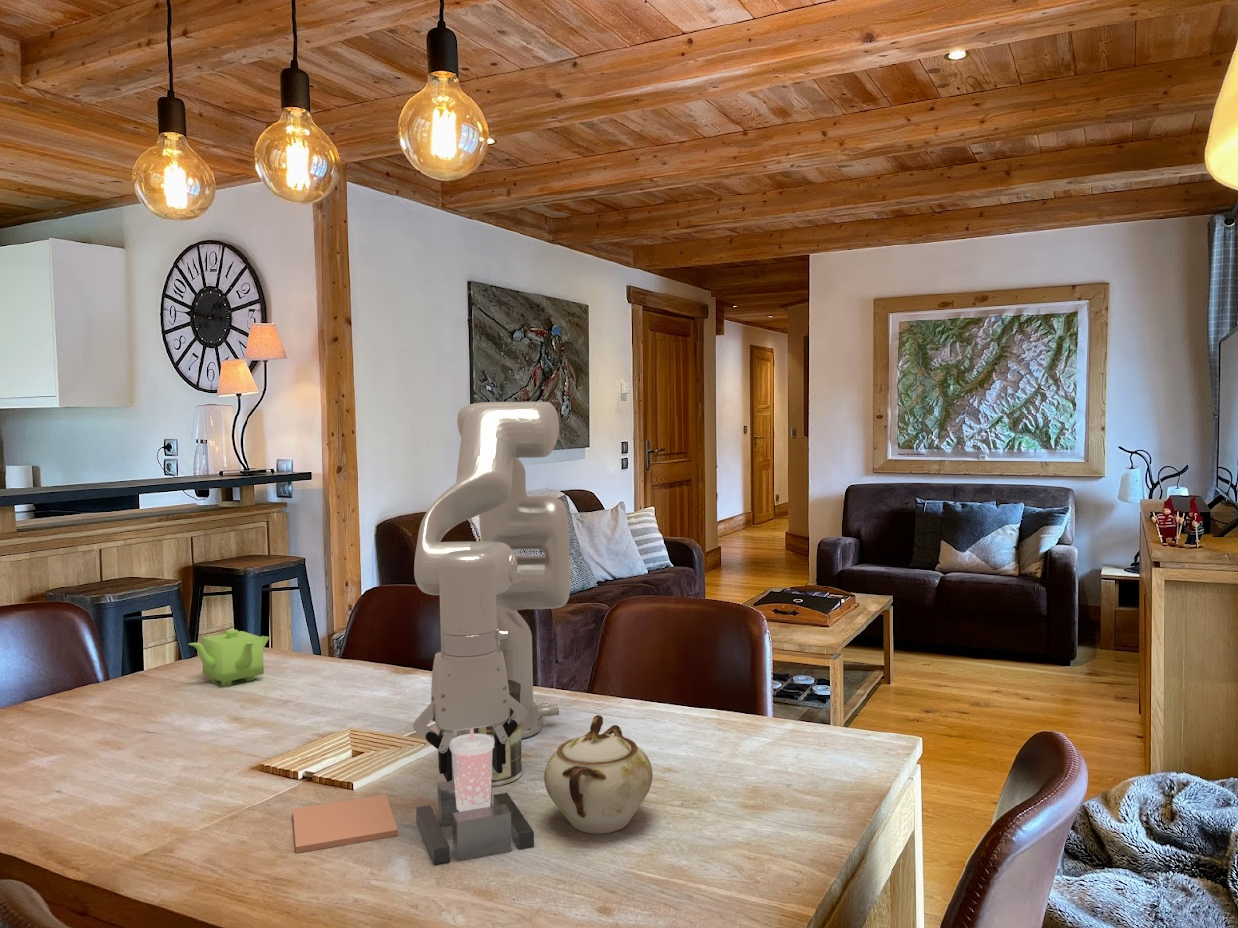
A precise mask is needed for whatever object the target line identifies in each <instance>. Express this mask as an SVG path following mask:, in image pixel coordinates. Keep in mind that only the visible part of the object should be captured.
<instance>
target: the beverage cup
mask: <svg viewBox="0 0 1238 928" xmlns="http://www.w3.org/2000/svg"><path fill="white" fill-rule="evenodd" d="M494 743H495V741H494V738H493V737H492V736H490V735H486V734H477V733H475V734H474V733H473V729H470V734H465V735H461V736H458V737H457V736H455V737H452V739H451V742H450V744H449V749H450V751H451V752H452V774H453V780H454V784H455V796H456V807H457V810H458V811H459V812H461V811H467V810H473V809H479V808H485V807H490V804H491V802H492V786H491V778H492V752H493V748H494Z"/></svg>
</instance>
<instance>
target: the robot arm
mask: <svg viewBox="0 0 1238 928" xmlns="http://www.w3.org/2000/svg"><path fill="white" fill-rule="evenodd" d="M456 419H457V420H456V423H457V429H458V433H459V435H460V445H459V453H458V462H457V469H456V470H457V471H456V480H455V483H454V484H453V485H451V486H450V487H449V488H447V489H446V490H445V491H444V492H443V493H441V495H439V496H438V498H437V499H436V500H435V501H434V502H433V503H432V505H430V506H429V508H428V510H427V511H426V513H425V514H424V516H423V518H422V520H421V522H420V525H419V529H418V534H417V541H416V542H417V543H416V547H415V548H416V549H415V554H414V563H413V564H414V565H413V567H414V568H413V576H414V580H415V583H416V586H417V588H418V589H419V590H420V591H421V592H422V593H425V594H426V595H431V596H439V616H440V617H439V618H440V651H439V652H436V653H435V655H434V659H433V665H432V672H431V673H432V674H431V687H430V688H431V691H430V692H431V693H430V694H431V695H430V704H428V705H427V707H426V708H425V709H424V711H423V712H422V713H420V715H419V716H418V717H417V718H416V719H415V721H414V722H413V723H412V728H413V730H414V732H416V733H417V734H418V735H419V736H421V737H422V738H424V739H425V741H427V742H428V743H429V744H430V745H431V746H433V747H434V748H435V749H437V751H438V752H437V753H438V754H437V756H438V772H439V774H440V775H442V776H443V777H444V779H445V782H446V781H447V782H450V781H453V780H454V776H453V761H452V752H451V751H450V747H449V744H450V742H451V740H452V739H453V737H454V733H455V732H457V731H459V730H467V729H474V728H481V727H487V726H491V727H492V729H493V731H494V733H495V735H494V741H495V743H494V748H493V752H492V766H493V768H494V769H495V771H496V772H497V773H498V774H499V773H502V764H506V748H505V743H507V742H508V738H509V737H510V736H511V735H512V733H513V732H514V731H515V730H516V729H517V727H518V725H519V723H521V740H522V739H525V738H526V739H527V738H530V737H532V736H534V734H535V735H537V734H538V733H539V732H541V730H542V729H543V722H542V719H543V718H544V717H552V716H553V717H554V716H560V715H559V714H560V707H559V704H552V705H550V704H549V703H547V702H544V703H539V704H537V703H536V702H535V701H534V680H533V678H534V674H533V636H532V631H531V628H530V626H529V625H528V623H527V622H526V620H525V619H524V618H523V617H522V615H521V614H520V613H519V612H518V611H523V610H546V609H547V610H548V609H558V608H563V607H564V606H566V604H567V603H568V601H569V599H570V593H571V565H570V564H571V562H570V560H571V559H570V553H571V552H570V531H569V530H570V529H569V528H570V527H569V518H568V517H569V516H568V511H567V507H566V505H565V504H564V502H563V501H562V500H561V499H560V498H558V497H555V496H550V495H549V496H548V495H543V496H542V495H541V496H536V495H535V496H529V495H528V494H527V491H526V490H527V485H526V484H527V483H526V482H527V481H526V478H527V475H526V469H525V465H524V464H523V462H522V461H521V459H524V458H525V459H526V458H528V459H529V458H530V459H533V458H537V459H538V458H547V457H548V456H550V455H551V453H552V452H553V450H554V448H555V446H556V445H557V441H558V438H559V431H560V424H559V423H560V422H559V416H558V412H557V410H556V408H555V406H554V405H553V404H552V403H551V402H548V401H489V402H488V401H487V402H486V401H485V402H474V403H471V404H466V405H464V406H463V407H461V408H460V410H459V411H458V413H457V418H456ZM520 458H521V459H520ZM475 517H478V521H479V533H480V537H481V538H480V539H481V541H442V539H443V538H444V537H445V535H446V534H448V532H449V531H450V530H452V529H453V528H455V527H456V526H458V525H459V524H461V523H464V522H466V521H468V520H470V519H473V518H475ZM515 550H540V551H542V552H543V554H544V555H535V556H533V555H532V556H531V555H530V556H529V555H528V556H526V555H525V556H524V555H516V554H515V552H514V551H515ZM507 679H508V680H513V681H516V682H518V683H519V684H520V685H521V690H520V703H519V702H518V701H516V700H515V699H514V698H513V697H512V696H511V695H509V688H508V680H507ZM510 708H511V709H512V710H513V711H514V713H513V715H512V716H511V718H509V716H510ZM431 721H432V722H435V723H436V724H435V725H436V728H437V729H438V733H436V732H435V731H433V730H432V729H430V728H429V727H428V724H430V723H431ZM504 722H505V723H504ZM502 723H504V724H503V725H502ZM536 733H537V734H536Z"/></svg>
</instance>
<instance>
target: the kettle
mask: <svg viewBox="0 0 1238 928" xmlns="http://www.w3.org/2000/svg"><path fill="white" fill-rule="evenodd" d="M269 640H270V636H266V635H265V636H264V635H261V636H259V635H257V634H253V633H250V632H246V631H242V630H240V631H239V630H238V629H228V630H226V631H225V633H223V634H222V633H221V634H216V635H211V636H205V637H203V636H202V638H201V642H190V643H188V644H187V645H189V646H192V647H194V648H195V650H197V653H198V655H199V658H200V660H201V663H202V674H203V675H204V676H207V677H209V678H211V679H210V682H211V681H218V682H221V684H220V687H230V686H232V685H233V681H236V680H241V679H244V680H245V682H253V681H252V680H254V681H256V680H257V678H256V677H255V676H260V675H264V674H265V673H264V671H265V670H264V667H265V666H264V648H265V646H266V644H267V643H268V641H269ZM255 679H256V680H255Z"/></svg>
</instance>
